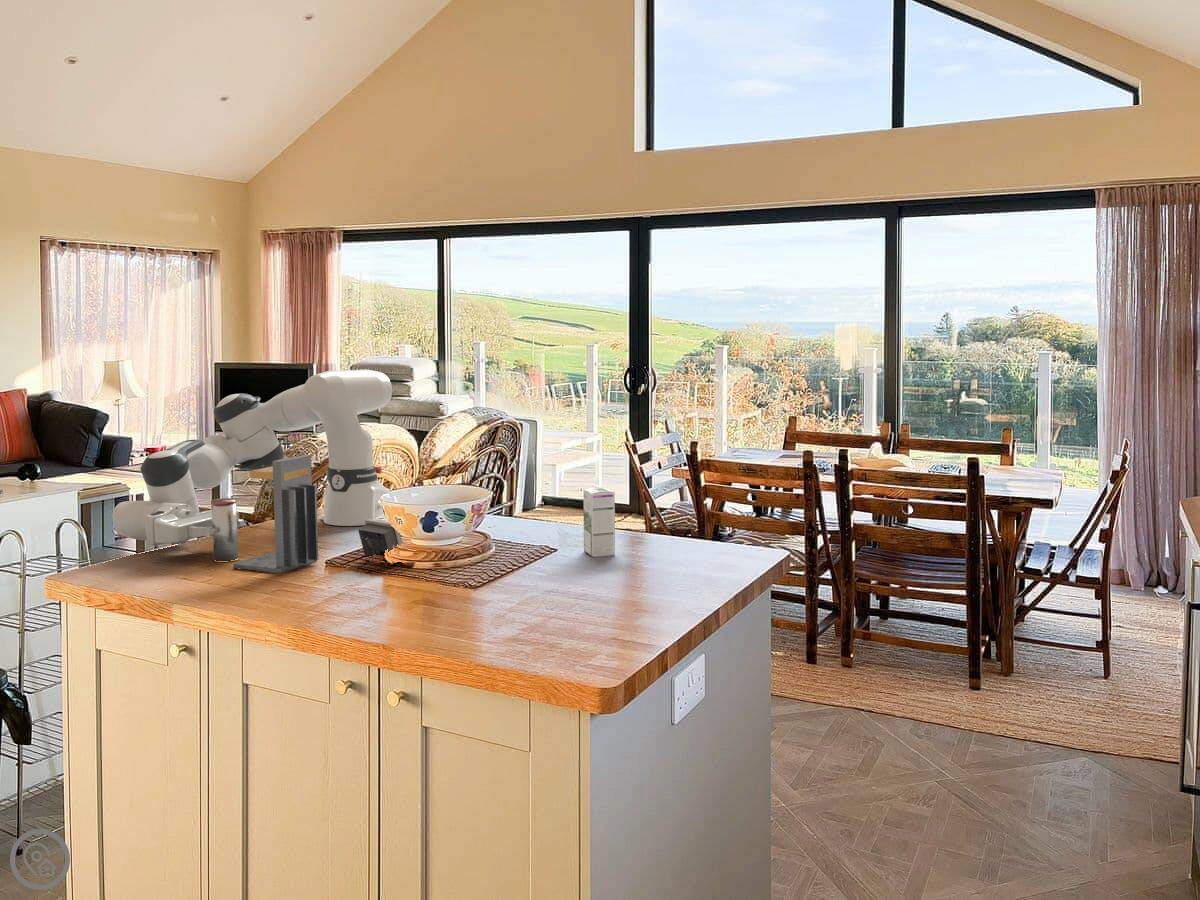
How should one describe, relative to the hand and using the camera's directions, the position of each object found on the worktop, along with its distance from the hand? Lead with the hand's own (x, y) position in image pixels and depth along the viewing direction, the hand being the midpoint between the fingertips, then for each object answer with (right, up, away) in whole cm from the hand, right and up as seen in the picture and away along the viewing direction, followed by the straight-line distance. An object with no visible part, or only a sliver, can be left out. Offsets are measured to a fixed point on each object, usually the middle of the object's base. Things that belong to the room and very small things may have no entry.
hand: (227, 527), depth 218 cm
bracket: (+11, -8, -3) cm, 14 cm away
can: (-1, -7, +1) cm, 7 cm away
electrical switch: (+34, -8, -1) cm, 35 cm away
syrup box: (+80, -7, +9) cm, 81 cm away
